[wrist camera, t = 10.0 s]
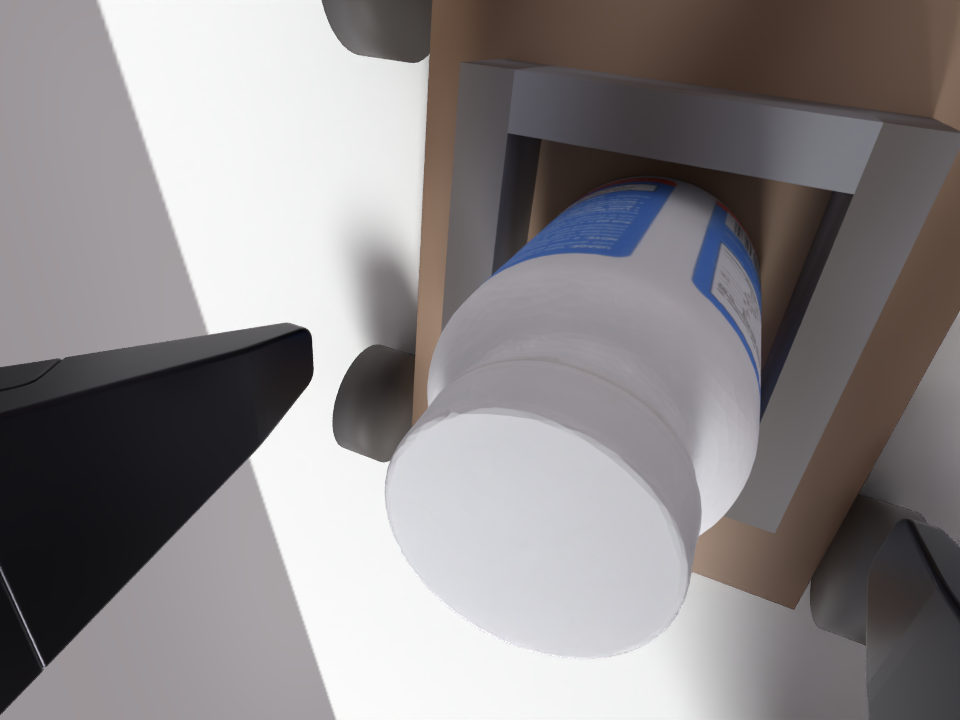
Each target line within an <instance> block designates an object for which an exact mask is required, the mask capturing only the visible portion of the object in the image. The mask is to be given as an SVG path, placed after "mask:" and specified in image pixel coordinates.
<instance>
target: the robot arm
mask: <svg viewBox="0 0 960 720" xmlns="http://www.w3.org/2000/svg"><path fill="white" fill-rule="evenodd" d="M313 371H314V368H313V349H312V336H311V333H310V331H309V330H308V329H306V328H304V327H301V326H298V325H294V324H291V323H280V324H274V325H268V326H261V327H255V328H249V329H242V330H236V331H230V332H223V333H217V334H211V335H204V336H198V337H192V338H186V339H179V340H173V341H166V342H160V343H154V344H148V345H141V346H135V347H128V348H122V349H116V350H109V351H103V352H97V353H90V354H84V355H77V356H72V357H66V358H64V359H63V360H61V359H52V360H45V361H39V362H32V363H27V364H19V365H12V366H5V367H0V715H1V714H2V713H3V712H4V711H5V710H6V708H8V706H10V705H11V703H12V702H13V701H14V700H15V699H16V698H17V697H18V696H19V695H20V694H21V693H22V692H23V691H24V690H25V689H26V688H27V687H28V686H29V685H30V684H31V683H32V682H33V681H34V680H35V679H36V678H37V677H38V676H39V675H40V673H42V671H43V667H46V666H48V665H49V664H50V663H51V662H52V661H53V660H54V659H55V658H56V656H57V655H58V654H59V653H60V652H61V651H62V650H63V649H64V648H65V647H66V646H67V645H68V644H69V643H70V642H71V641H72V640H73V639H74V638H75V637H76V636H77V635H78V634H79V633H80V632H81V631H82V630H83V628H85V627H86V626H87V624H88V623H89V622H90V621H91V620H92V619H93V618H94V617H95V616H96V615H97V614H98V613H99V612H100V611H101V610H102V609H103V608H104V607H105V606H106V605H107V604H108V603H109V602H110V601H111V600H112V599H113V597H115V595H117V593H119V591H120V590H121V589H122V588H123V587H124V586H125V585H126V584H127V583H128V582H129V581H130V580H131V579H132V578H133V577H134V576H135V575H136V574H137V573H138V572H139V571H140V570H141V569H142V568H143V567H144V566H145V565H146V564H147V563H148V561H149V560H150V559H151V558H152V557H153V556H154V555H155V554H156V553H157V552H158V551H159V550H160V549H161V548H162V547H163V546H164V545H165V544H166V543H167V542H168V541H169V540H170V538H172V537H173V536H174V535H175V533H177V532H178V530H180V529H181V528H182V526H183V525H184V524H185V523H186V522H187V521H188V520H189V519H190V518H191V517H192V516H193V515H194V514H195V513H196V512H197V511H198V510H199V509H200V508H201V507H202V506H203V505H204V504H205V503H206V502H207V501H208V500H209V499H210V497H212V496H213V494H214V493H215V492H216V491H217V490H218V489H219V488H220V487H221V486H222V485H223V484H224V483H225V482H226V481H227V480H228V479H229V478H230V477H231V476H232V475H233V474H234V473H235V472H236V471H237V470H238V468H240V467H241V465H243V463H244V462H245V461H246V460H247V459H248V458H249V457H250V456H251V455H252V454H253V453H254V452H255V451H256V450H257V449H258V448H259V447H260V445H261V444H262V443H263V442H264V441H265V439H266V438H267V437H268V436H269V434H270V433H271V432H272V431H273V429H274V428H275V427H276V426H277V424H278V423H279V422H280V420H281V419H282V418H283V417H284V415H285V414H286V413H287V412H288V410H289V409H290V408H291V406H292V405H293V404H294V403H295V401H296V400H297V399H298V398H299V396H300V395H301V394H302V393H303V391H304V390H305V389H306V387H307V386H308V385H309V383H310V381H311V379H312V376H313ZM866 697H867V709H868V718H869V720H960V546H959V545H958V544H956V543H955V542H954V541H953V540H952V539H951V538H950V537H949V536H948V535H947V534H946V533H945V532H944V531H943V530H942V529H940V528H938V527H936V526H932V525H929V524H926V523H923V522H919V521H916V520H913V519H910V518H904V519H901V520H900V521H898V522H897V523H896V524H895V526H894V527H893V529H892V530H891V532H890V534H889V535H888V537H887V538H886V540H885V542H884V543H883V545H882V546H881V548H880V550H879V551H878V553H877V555H876V556H875V558H874V559H873V561H872V564H871V566H870V570H869V574H868V593H867V633H866Z"/></svg>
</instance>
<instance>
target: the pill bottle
mask: <svg viewBox="0 0 960 720" xmlns="http://www.w3.org/2000/svg"><path fill="white" fill-rule="evenodd" d="M761 309H762V289H761V277H760V268H759V263H758V258H757V254H756V251H755V248H754V246H753V243H752V241H751V239H750V237H749V235H748V234H747V232H746V230H745V229H744V227H743V226H742V224H741V223H740V221H739V220H738V219H737V218H736V216H735V215H734V214H733V213H732V212H731V211H730V210H729V208H728V207H727V206H725V205H724V204H723V203H722V202H720V201H719V200H718V199H717V198H715V197H714V196H713V195H711V194H709V193H708V192H706V191H704V190H703V189H701V188H699V187H697V186H694V185H692V184H690V183H687V182H684V181H680V180H676V179H672V178H667V177H659V176H638V177H630V178H624V179H620V180H616V181H612V182H610V183H607V184H605V185H602V186H600V187H598V188H596V189H594V190H592V191H590V192H589V193H587V194H585V195H584V196H582V197H580V198H579V199H578V200H576V201H575V202H574V203H572V204H571V205H570V206H568V207H567V208H566V209H565V210H564V211H563V212H562V213H561V214H560V215H558V216H557V217H556V218H555V219H554V220H553V221H551V222H550V223H549V224H548V225H547V226H546V227H545V228H544V229H543V230H542V231H540V232H539V233H538V234H537V235H536V236H535V237H534V238H533V239H532V240H530V241H529V242H528V243H527V244H526V245H525V246H524V247H523V248H522V249H521V250H519V251H518V252H517V253H516V254H515V255H514V256H513V257H512V258H511V259H509V260H508V261H507V262H506V263H505V264H504V265H503V266H502V267H501V268H499V269H498V270H497V271H496V272H495V273H494V274H493V275H492V276H491V277H490V278H488V279H487V280H486V281H485V282H484V283H483V284H482V285H481V286H480V287H479V288H478V289H477V290H476V291H475V292H474V293H473V294H472V295H471V296H470V297H469V298H468V299H467V300H466V301H465V302H464V303H463V304H462V305H461V306H460V307H459V308H458V310H457V311H456V312H455V313H454V314H453V316H452V317H451V319H450V320H449V322H448V323H447V325H446V326H445V328H444V330H443V331H442V333H441V335H440V338H439V340H438V342H437V344H436V347H435V350H434V353H433V356H432V360H431V364H430V368H429V375H428V383H427V398H428V408H427V410H426V411H425V412H424V414H423V415H422V416H421V417H420V418H419V419H418V421H417V422H416V423H415V424H414V425H413V427H412V428H411V429H410V430H409V431H408V433H407V434H406V435H405V437H404V438H403V439H402V441H401V442H400V443H399V445H398V446H397V448H396V450H395V452H394V454H393V456H392V458H391V461H390V464H389V466H388V470H387V476H386V481H385V500H386V509H387V515H388V519H389V523H390V526H391V529H392V532H393V535H394V537H395V539H396V541H397V543H398V545H399V547H400V549H401V552H402V554H403V555H404V557H405V559H406V560H407V562H408V563H409V565H410V566H411V567H412V569H413V570H414V572H415V573H416V574H417V576H418V577H419V578H420V579H421V581H422V582H423V583H424V584H425V586H426V587H427V588H428V589H429V590H430V591H431V592H432V593H434V594H435V595H436V596H437V597H438V598H439V599H440V600H441V601H442V602H443V603H444V604H445V605H447V606H448V607H449V608H450V609H451V610H453V611H454V612H455V613H456V614H458V615H459V616H461V617H462V618H463V619H465V620H466V621H468V622H469V623H470V624H472V625H473V626H475V627H477V628H478V629H480V630H482V631H484V632H486V633H488V634H490V635H492V636H494V637H496V638H498V639H500V640H502V641H504V642H507V643H509V644H512V645H515V646H517V647H520V648H523V649H527V650H530V651H533V652H537V653H541V654H545V655H550V656H557V657H563V658H574V659H594V658H603V657H611V656H615V655H619V654H623V653H627V652H629V651H632V650H635V649H637V648H639V647H641V646H643V645H645V644H647V643H649V642H650V641H651V640H653V639H654V638H655V637H657V636H658V635H659V634H661V633H662V632H663V631H665V630H666V628H667V627H668V626H669V625H670V624H671V622H672V621H673V620H674V618H675V617H676V615H677V614H678V612H679V610H680V608H681V606H682V604H683V602H684V600H685V598H686V594H687V590H688V587H689V582H690V577H691V571H692V566H693V560H694V554H695V549H696V543H697V541H698V537H699V536H700V535H701V534H703V533H704V532H705V531H707V530H708V529H709V528H711V527H712V526H713V525H715V524H716V523H717V522H718V521H719V520H720V519H721V518H722V517H723V516H724V515H725V513H726V512H727V511H728V510H729V509H730V507H731V506H732V505H733V504H734V502H735V501H736V499H737V498H738V496H739V495H740V493H741V491H742V489H743V488H744V486H745V484H746V482H747V479H748V477H749V475H750V472H751V469H752V466H753V463H754V460H755V457H756V452H757V446H758V436H759V420H760V400H761Z"/></svg>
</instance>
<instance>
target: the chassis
mask: <svg viewBox="0 0 960 720" xmlns="http://www.w3.org/2000/svg"><path fill="white" fill-rule="evenodd" d="M322 4H323V7H324V11H325V13H326V16H327V19H328V21H329V24H330V26H331V28H332V30H333V32H334V33H335V35H336V37H337V38H338V40H339V41H340V42H341V43H342V45H343V46H344V47H346V48H347V49H348V50H349V51H351V52H352V53H354V54H357V55H362V56H368V57H375V58H382V59H389V60H396V61H402V62H409V63H416V62H419V61H421V60H423V59H424V58H426V57H427V56H428V55H429V54H430V59H429V80H428V101H427V122H426V142H425V163H424V184H423V205H422V226H421V247H420V268H419V289H418V310H417V331H416V352H415V356H414V355H411V354H408V353H405V352H401V351H398V350H395V349H392V348H388V347H385V346H382V345H372V346H370V347H368V348H367V349H365V350H364V351H363V352H361V353H360V354H359V355H358V357H357V358H356V359H355V360H354V361H353V363H352V364H351V366H350V367H349V369H348V371H347V372H346V374H345V376H344V378H343V380H342V383H341V385H340V388H339V390H338V394H337V397H336V401H335V405H334V410H333V433H334V437H335V439H336V441H337V443H338V444H339V445H340V446H341V447H343V448H345V449H348V450H351V451H353V452H356V453H359V454H361V455H364V456H367V457H369V458H372V459H375V460H377V461H380V462H387V461H390V460H391V458H392V456H393V454H394V452H395V450H396V448H397V446H398V445H399V443H400V442H401V441H402V439H403V438H404V437H405V435H406V434H407V433H408V431H409V430H410V429H411V428H412V427H413V425H414V424H415V423H416V422H417V421H418V419H419V418H420V417H421V416H422V415H423V414H424V412H425V411H426V410H427V408H428V398H427V383H428V375H429V368H430V364H431V360H432V356H433V353H434V350H435V347H436V344H437V342H438V340H439V338H440V335H441V333H442V331H443V330H444V328H445V326H446V325H447V323H448V322H449V320H450V319H451V317H452V316H453V314H454V313H455V312H456V311H457V310H458V308H459V307H460V306H461V305H462V304H463V303H464V302H465V301H466V300H467V299H468V298H469V297H470V296H471V295H472V294H473V293H474V292H475V291H476V290H477V289H478V288H479V287H480V286H481V285H482V284H483V283H484V282H485V281H486V280H487V279H488V278H490V277H491V276H492V275H493V274H494V273H495V272H496V271H497V270H498V269H499V268H501V267H502V266H503V265H504V264H505V263H506V262H507V261H508V260H509V259H511V258H512V257H513V256H514V255H515V254H516V253H517V252H518V251H519V250H521V249H522V248H523V247H524V246H525V245H526V244H527V243H528V242H529V241H530V240H532V239H533V238H534V237H535V236H536V235H537V234H538V233H539V232H540V231H542V230H543V229H544V228H545V227H546V226H547V225H548V224H549V223H550V222H551V221H553V220H554V219H555V218H556V217H557V216H558V215H560V214H561V213H562V212H563V211H564V210H565V209H566V208H567V207H568V206H570V205H571V204H572V203H574V202H575V201H576V200H578V199H579V198H580V197H582V196H584V195H585V194H587V193H589V192H590V191H592V190H594V189H596V188H598V187H600V186H602V185H605V184H607V183H610V182H612V181H616V180H620V179H624V178H630V177H638V176H659V177H667V178H672V179H676V180H680V181H684V182H687V183H690V184H692V185H694V186H697V187H699V188H701V189H703V190H704V191H706V192H708V193H709V194H711V195H713V196H714V197H715V198H717V199H718V200H719V201H720V202H722V203H723V204H724V205H725V206H727V207H728V208H729V210H730V211H731V212H732V213H733V214H734V215H735V216H736V218H737V219H738V220H739V221H740V223H741V224H742V226H743V227H744V229H745V230H746V232H747V234H748V235H749V237H750V239H751V241H752V243H753V246H754V248H755V251H756V254H757V258H758V263H759V268H760V277H761V289H762V309H761V400H760V420H759V436H758V446H757V452H756V457H755V460H754V463H753V466H752V469H751V472H750V475H749V477H748V479H747V482H746V484H745V486H744V488H743V489H742V491H741V493H740V495H739V496H738V498H737V499H736V501H735V502H734V504H733V505H732V506H731V507H730V509H729V510H728V511H727V512H726V513H725V515H724V516H723V517H722V518H721V519H720V520H719V521H718V522H717V523H716V524H715V525H713V526H712V527H711V528H709V529H708V530H707V531H705V532H704V533H703V534H701V535H700V536H699V537H698V541H697V543H696V549H695V554H694V560H693V566H692V572H695V573H697V574H700V575H703V576H705V577H708V578H711V579H713V580H716V581H719V582H721V583H724V584H727V585H729V586H732V587H735V588H737V589H740V590H743V591H745V592H748V593H751V594H753V595H756V596H759V597H761V598H764V599H767V600H769V601H772V602H775V603H777V604H780V605H783V606H785V607H788V608H791V609H793V610H794V609H795V607H796V605H797V603H798V602H799V600H800V598H801V596H802V594H803V593H804V591H805V589H806V587H807V585H808V584H809V582H810V580H811V588H810V605H811V612H812V617H813V620H814V622H815V624H816V625H817V626H818V627H819V628H821V629H824V630H826V631H829V632H832V633H834V634H837V635H840V636H842V637H845V638H848V639H850V640H853V641H855V642H858V643H861V644H863V645H866V633H867V593H868V574H869V570H870V566H871V564H872V561H873V559H874V558H875V556H876V555H877V553H878V551H879V550H880V548H881V546H882V545H883V543H884V542H885V540H886V538H887V537H888V535H889V534H890V532H891V530H892V529H893V527H894V526H895V524H896V523H897V522H898V521H900V520H901V519H904V518H910V519H913V520H916V521H919V522H923V523H926V524H927V522H926V521H925V519H924V518H923V516H922V515H921V514H919V513H918V512H915V511H912V510H908V509H905V508H902V507H899V506H896V505H892V504H889V503H886V502H883V501H880V500H876V499H873V498H870V497H867V496H863V495H860V494H858V493H859V491H860V490H861V488H862V486H863V484H864V482H865V480H866V479H867V477H868V475H869V473H870V471H871V470H872V468H873V466H874V464H875V462H876V461H877V459H878V457H879V455H880V453H881V452H882V450H883V448H884V446H885V444H886V443H887V441H888V439H889V437H890V435H891V433H892V432H893V430H894V428H895V426H896V424H897V423H898V421H899V419H900V417H901V415H902V414H903V412H904V410H905V408H906V406H907V405H908V403H909V401H910V399H911V397H912V395H913V394H914V392H915V390H916V388H917V386H918V385H919V383H920V381H921V379H922V377H923V376H924V374H925V372H926V370H927V368H928V367H929V365H930V363H931V361H932V359H933V358H934V356H935V354H936V352H937V350H938V348H939V347H940V345H941V343H942V341H943V339H944V338H945V336H946V334H947V332H948V330H949V329H950V327H951V325H952V323H953V321H954V320H955V318H956V316H957V314H958V312H959V311H960V0H322Z"/></svg>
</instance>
